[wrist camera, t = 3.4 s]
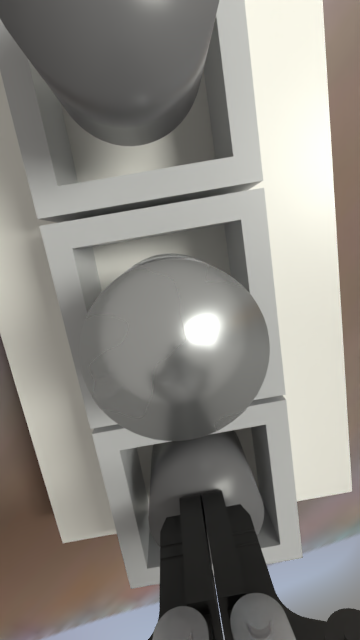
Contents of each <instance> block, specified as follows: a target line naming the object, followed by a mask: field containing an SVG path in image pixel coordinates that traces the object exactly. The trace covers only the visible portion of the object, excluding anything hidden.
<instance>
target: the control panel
mask: <svg viewBox="0 0 360 640" xmlns="http://www.w3.org/2000/svg"><path fill="white" fill-rule="evenodd" d="M168 253H173V254H183V255H188V256H191V257H194V258H197V259H199V260H201V261H203V262H205V263H207V264H209V265H212V266H214V267H216V268H218V269H220V270H222V271H224V272H225V273H227V274H228V275H230V276H231V277H233V278H234V279H235V280H237V281H238V282H239V283H240V284H241V285H243V286H244V288H245V289H246V290H247V291H248V292H249V293H250V294H251V295H252V297H253V298H254V300H255V301H256V303H257V304H258V306H259V308H260V310H261V312H262V314H263V316H264V319H265V322H266V325H267V329H268V335H269V343H270V355H269V364H268V368H267V373H266V376H265V379H264V381H263V384H262V386H261V388H260V390H259V392H258V394H257V396H256V397H255V398H254V400H253V401H252V403H251V404H250V405H249V407H248V408H247V409H246V410H245V411H244V412H243V413H242V414H241V415H240V416H239V417H237V418H236V419H235V420H234V421H233V422H231V423H230V424H228V425H227V426H225V427H224V428H222V429H220V430H218V431H216V432H214V433H212V434H215V433H221V432H226V431H232V430H234V431H235V433H236V434H237V436H238V438H239V441H240V443H241V446H242V448H243V451H244V454H245V456H246V459H247V462H248V464H249V467H250V469H251V472H252V475H253V477H254V480H255V482H256V485H257V488H258V490H259V493H260V495H261V498H262V501H263V506H264V520H263V524H262V527H261V529H260V532H259V534H258V535H257V537H258V541H259V544H260V547H261V550H262V553H263V556H264V559H265V562H266V564H271V563H277V562H282V561H288V560H293V559H299V558H302V557H303V556H302V547H301V537H300V528H299V518H298V508H297V501H302V500H307V499H313V498H318V497H324V496H330V495H335V494H341V493H346V492H352V482H351V465H350V449H349V432H348V415H347V399H346V382H345V366H344V349H343V333H342V316H341V299H340V283H339V266H338V250H337V233H336V216H335V200H334V183H333V167H332V150H331V133H330V117H329V100H328V84H327V67H326V50H325V34H324V17H323V1H322V0H219V5H218V9H217V13H216V17H215V22H214V26H213V30H212V35H211V39H210V43H209V48H208V52H207V56H206V61H205V65H204V69H203V74H202V78H201V82H200V86H199V90H198V93H197V96H196V99H195V101H194V104H193V106H192V107H191V109H190V111H189V113H188V114H187V116H186V117H185V118H184V120H183V121H182V122H181V123H180V124H179V125H178V126H177V127H176V128H175V129H174V130H173V131H172V132H170V133H169V134H168V135H166V136H164V137H163V138H161V139H159V140H157V141H154V142H152V143H149V144H145V145H140V146H120V145H115V144H111V143H108V142H105V141H102V140H100V139H98V138H96V137H94V136H93V135H91V134H89V133H88V132H86V131H85V130H84V129H83V128H82V127H80V126H79V125H78V124H77V123H76V122H75V121H74V120H73V118H72V117H71V116H70V115H69V114H68V112H67V111H66V110H65V108H64V107H63V105H62V104H61V103H60V101H59V100H58V99H57V97H56V96H55V95H54V93H53V92H52V91H51V89H50V88H49V86H48V85H47V84H46V82H45V81H44V80H43V78H42V77H41V76H40V74H39V73H38V72H37V70H36V69H35V68H34V66H33V65H32V63H31V62H30V61H29V59H28V58H27V57H26V55H25V54H24V53H23V51H22V50H21V49H20V47H19V46H18V44H17V43H16V42H15V40H14V39H13V38H12V36H11V35H10V33H9V32H8V31H7V29H6V28H5V26H4V24H3V23H2V21H1V19H0V335H1V338H2V341H3V345H4V348H5V351H6V355H7V358H8V361H9V365H10V368H11V371H12V375H13V378H14V382H15V385H16V388H17V392H18V395H19V398H20V402H21V405H22V408H23V412H24V415H25V418H26V422H27V425H28V428H29V432H30V435H31V439H32V442H33V445H34V449H35V452H36V455H37V459H38V462H39V465H40V469H41V472H42V475H43V479H44V482H45V485H46V489H47V492H48V495H49V499H50V502H51V506H52V509H53V512H54V516H55V519H56V522H57V526H58V529H59V532H60V536H61V539H62V542H63V543H67V542H72V541H78V540H84V539H89V538H95V537H100V536H106V535H112V534H117V536H118V540H119V544H120V548H121V552H122V556H123V560H124V564H125V568H126V571H127V575H128V579H129V583H130V587H131V589H133V588H138V587H144V586H149V585H155V584H160V547H159V546H158V544H157V543H156V541H155V540H154V538H153V536H152V534H151V531H150V528H149V521H148V516H149V497H150V478H151V460H152V449H153V445H154V444H159V443H164V442H170V441H163V440H155V439H151V438H147V437H143V436H141V435H138V434H135V433H133V432H131V431H129V430H127V429H125V428H123V427H122V426H120V425H119V424H117V423H116V422H114V421H113V420H112V419H111V418H110V417H108V416H107V415H106V414H105V413H104V412H103V411H102V409H101V408H100V407H99V406H98V405H97V404H96V402H95V401H94V399H93V397H92V396H91V394H90V392H89V390H88V388H87V386H86V384H85V381H84V378H83V375H82V372H81V366H80V361H79V344H80V335H81V331H82V327H83V324H84V321H85V319H86V316H87V314H88V312H89V310H90V308H91V306H92V305H93V303H94V301H95V300H96V299H97V297H98V296H99V295H100V294H101V292H102V291H103V290H104V289H105V288H106V287H107V286H108V285H109V284H110V283H111V282H113V281H114V280H115V279H116V278H118V277H119V276H120V275H122V274H123V273H124V272H126V271H127V270H128V269H129V268H131V267H132V266H133V265H135V264H136V263H138V262H140V261H142V260H144V259H146V258H149V257H151V256H155V255H159V254H168ZM212 569H213V564H212ZM213 574H214V570H213Z"/></svg>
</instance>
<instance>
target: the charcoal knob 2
mask: <svg viewBox="0 0 360 640" xmlns="http://www.w3.org/2000/svg"><path fill="white" fill-rule="evenodd" d="M220 490H222V493H223V497H224V501H225V505H226V507H227V506H232V505H238V504H241V505H242V506H243V508H244V509H245V510H246V511H247V512H248V513H249V514H250V516H251V519H252V522H253V525H254V528H255V532H256V534H257V535H258V534H259V532H260V529H261V527H262V524H263V520H264V506H263V501H262V498H261V495H260V493H259V490H258V488H257V485H256V482H255V480H254V477H253V475H252V472H251V469H250V467H249V464H248V462H247V459H246V456H245V454H244V451H243V448H242V446H241V443H240V441H239V438H238V436H237V434H236V433H235V431H234V430H232V431H226V432H221V433H215V434H209V435H206V436H203V437H200V438H196V439H191V440H184V441H170V442H164V443H159V444H154V445H153V449H152V460H151V478H150V497H149V516H148V521H149V528H150V531H151V534H152V536H153V538H154V540H155V541H156V543H157V544H158V546H159V547H160V531H161V528H162V526H163V524H164V522H165V520H166V517H172V516H177V515H180V501H179V498H181V497H187V496H192V495H198V494H200V498H201V503H202V509H203V515H204V520H205V526H206V532H207V525H206V519H205V513H204V506H203V500H202V494H203V493H209V492H214V491H220ZM207 537H208V532H207ZM208 543H209V538H208ZM209 550H210V545H209ZM210 556H211V551H210ZM211 563H212V558H211Z"/></svg>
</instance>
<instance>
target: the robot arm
mask: <svg viewBox="0 0 360 640" xmlns="http://www.w3.org/2000/svg"><path fill="white" fill-rule="evenodd" d="M202 500H203V506H204V513H205V519H206V525H207V532H208V537H207V532H206V526H205V520H204V515H203V509H202V503H201V498H200V494H198V495H192V496H187V497H181V498H179V501H180V515H177V516H172V517H166V520H165V522H164V524H163V526H162V528H161V531H160V612H159V619H158V623H157V625H156V627H155V630H154V632H153V634H152V635H151V637H150V638H149V639H148V640H223V634H222V628H221V622H220V615H219V609H218V602H219V608H220V613H221V619H222V624H223V630H224V635H225V640H360V611H359V610H356V609H349V608H348V609H340V610H338V611H336V612H334V613H333V614H332V615H331V616H330V617H329V618H328V621H327V622H325V621H320V620H315V619H309V618H305V617H301V616H299V615H297V614H295V613H293V612H292V611H290V610H289V609H288V608H286V607H285V606H284V605H283V604H282V602H281V601H280V600H279V598H278V597H277V595H276V593H275V590H274V587H273V584H272V581H271V578H270V575H269V572H268V569H267V565H266V562H265V559H264V556H263V553H262V550H261V547H260V544H259V541H258V537H257V534H256V532H255V528H254V525H253V522H252V519H251V516H250V514H249V513H248V512H247V511H246V510H245V509H244V508H243V506H242V505H241V504H238V505H232V506H227V507H226V505H225V501H224V497H223V493H222V490H220V491H214V492H209V493H203V494H202ZM208 538H209V543H208ZM209 545H210V550H209ZM210 551H211V556H210ZM211 558H212V563H211ZM212 564H213V569H212ZM213 570H214V576H213ZM214 577H215V582H214ZM215 583H216V589H217V595H216V589H215ZM217 596H218V602H217Z"/></svg>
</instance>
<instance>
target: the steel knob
mask: <svg viewBox="0 0 360 640" xmlns="http://www.w3.org/2000/svg"><path fill="white" fill-rule="evenodd" d="M269 355H270V343H269V335H268V329H267V325H266V322H265V319H264V316H263V314H262V312H261V310H260V308H259V306H258V304H257V303H256V301H255V300H254V298H253V297H252V295H251V294H250V293H249V292H248V291H247V290H246V289H245V288H244V286H243V285H241V284H240V283H239V282H238V281H237V280H235V279H234V278H233V277H231V276H230V275H228V274H227V273H225V272H224V271H222V270H220V269H218V268H216V267H214V266H212V265H209V264H207V263H205V262H203V261H201V260H199V259H197V258H194V257H191V256H188V255H183V254H173V253H168V254H159V255H155V256H151V257H149V258H146V259H144V260H142V261H140V262H138V263H136V264H135V265H133V266H132V267H131V268H129V269H128V270H127V271H126V272H124V273H123V274H122V275H120V276H119V277H118V278H116V279H115V280H114V281H113V282H111V283H110V284H109V285H108V286H107V287H106V288H105V289H104V290H103V291H102V292H101V294H100V295H99V296H98V297H97V299H96V300H95V301H94V303H93V305H92V306H91V308H90V310H89V312H88V314H87V316H86V319H85V321H84V324H83V327H82V331H81V335H80V344H79V361H80V366H81V372H82V375H83V378H84V381H85V384H86V386H87V388H88V390H89V392H90V394H91V396H92V397H93V399H94V401H95V402H96V404H97V405H98V406H99V407H100V408H101V409H102V411H103V412H104V413H105V414H106V415H107V416H108V417H110V418H111V419H112V420H113V421H114V422H116V423H117V424H119V425H120V426H122V427H123V428H125V429H127V430H129V431H131V432H133V433H135V434H138V435H141V436H143V437H147V438H151V439H155V440H163V441H184V440H191V439H196V438H200V437H203V436H206V435H209V434H212V433H214V432H216V431H218V430H220V429H222V428H224V427H225V426H227V425H228V424H230V423H231V422H233V421H234V420H235V419H236V418H237V417H239V416H240V415H241V414H242V413H243V412H244V411H245V410H246V409H247V408H248V407H249V405H250V404H251V403H252V401H253V400H254V398H255V397H256V396H257V394H258V392H259V390H260V388H261V386H262V384H263V381H264V379H265V376H266V373H267V368H268V364H269Z"/></svg>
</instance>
